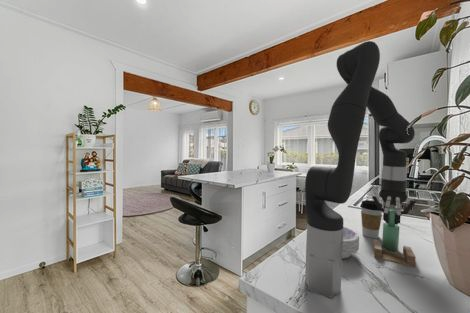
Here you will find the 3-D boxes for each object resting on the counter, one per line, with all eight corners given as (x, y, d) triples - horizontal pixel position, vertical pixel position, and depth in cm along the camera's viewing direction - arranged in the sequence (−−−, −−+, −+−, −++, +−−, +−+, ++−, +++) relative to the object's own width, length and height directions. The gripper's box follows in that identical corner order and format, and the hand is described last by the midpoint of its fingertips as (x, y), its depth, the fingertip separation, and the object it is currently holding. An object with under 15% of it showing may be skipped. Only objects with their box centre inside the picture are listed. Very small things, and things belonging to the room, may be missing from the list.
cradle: (414, 266, 68) (415, 257, 68) (374, 257, 74) (374, 248, 74) (409, 256, 75) (410, 247, 75) (373, 248, 81) (373, 239, 81)
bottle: (399, 253, 77) (401, 213, 76) (382, 249, 80) (384, 211, 79) (397, 247, 82) (399, 209, 80) (381, 243, 84) (383, 207, 83)
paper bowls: (304, 246, 82) (304, 226, 81) (334, 240, 87) (334, 221, 87) (335, 267, 68) (336, 243, 67) (368, 259, 73) (369, 236, 73)
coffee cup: (357, 235, 93) (358, 201, 92) (361, 229, 99) (363, 198, 98) (380, 241, 87) (381, 205, 86) (383, 235, 93) (385, 201, 92)
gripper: (372, 177, 79) (370, 222, 80) (420, 181, 72) (417, 230, 73) (371, 175, 85) (369, 216, 87) (415, 178, 78) (412, 223, 79)
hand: (391, 222), depth 80 cm, fingers closed on bottle, 2 cm apart
